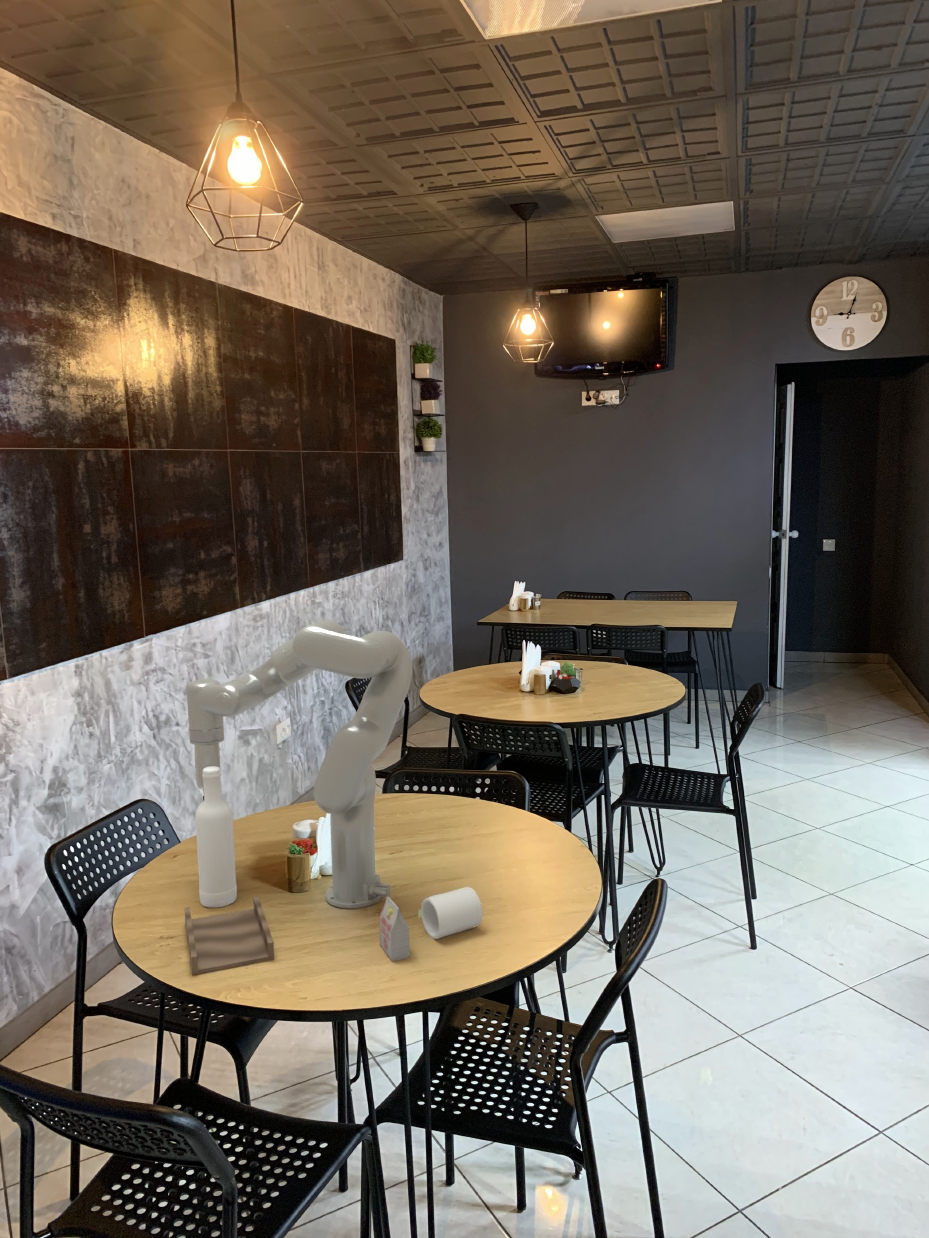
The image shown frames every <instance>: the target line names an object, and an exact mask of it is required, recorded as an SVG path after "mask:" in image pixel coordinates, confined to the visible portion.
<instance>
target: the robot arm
mask: <svg viewBox="0 0 929 1238" xmlns="http://www.w3.org/2000/svg"><path fill="white" fill-rule="evenodd" d="M412 662H413V661H412V659H411V654H410V652H409V650H408V648H407V646H406V645H405V643H404V641H402V639H400V637H399V636H397V635H396V634H395V633H393V632H390V631H387V630H375V631H372V632H369V633H366V634H365V635H362V636H356V635H355V636H354V635H350V634H347V632H346V630H345V629H344V627H343V626H342V625H341V624H340V623H338V622H336V621H334V620H331V619H327V620H320V621H316V622H313V623H311V624H307V625H306V626H304V627H302V628H301V629H299V630H298V631H297V632H296V634H295V636H294V637H293V638H291V639H289V640H287V641H286V642H284V643H283V644H281V645H280V646H278V647H277V648H275V649H273V650H272V652H271V654H270V658H268V659H267V660H266V661H265V662H263V663H262V664H260V665H259V666H258V667H255V668H254V669H253V670H251V671H250V672H248V673H246V674H244V675H243V676H240V677H236V678H235V679H232V680H229V681H227V682H223V683H221V682H220V681H219V680H217V679H211V678H205V679H204V678H203V679H195V680H193V681H190V682H189V683H188V684H187V685H186V699H187V700H186V702H187V716H188V717H187V718H188V735H189V737H188V738H189V743H190V744H191V745H194V767H195V781H196V786H197V788H198V789H202V788H203V792H204V783H203V777H202V774H203V769H204V768H206V767H210V766H217V767H219V768H220V769H221V754H220V752H221V751H220V743H222V742H224V741H225V729H224V727H225V725H224V717H225V718H226V717H227V718H231V717H236V716H238V715H240V714H243V713H245V712H246V711H249V710H251V709H253V708H255V707H257V706H259V705H261V704H262V703H264V702H265V701H267V700H268V699H270V698H272V697H274V696H275V695H277V694H278V693H280V692H281V691H283V690H284V689H286V688H287V687H289V686H293V685H294V684H296V683H297V682H299V681H300V680H302V679H304V678H305V677H307V676H308V675H311V673H313V672H314V671H317V670H321V671H325V672H328V673H329V672H330V673H333V674H337V675H342V676H344V677H350V678H355V679H361V680H362V679H363V680H364V679H365V680H366V679H370V678H371V679H370V681H369V683H368V685H367V687H366V689H365V692H364V693H363V696H362V698H361V699H362V700H361V702H360V704H359V706H358V709H357V711H356V713H355V714H354V717H353V718H351V720H349V721H348V722H346V723H345V724H344V725H342V726H341V727H340V728H338V730H337V731H336V733H335V734H334V735H333V737H332V739H331V741H330V743H329V746H327V747H328V748H327V750H326V752H325V755H324V758H323V760H322V762H321V765H320V768H319V769H318V773H317V775H316V778H315V781H314V784H313V790H312V791H313V798H314V801H315V804H316V805H317V806H318V808H319V809H320V810H321V811H322V812H325V813H326V814H329V815H330V820H329V821H330V824H329V825H330V848H331V849H330V853H331V877H332V881H331V882H332V885H331V886H330V887H329V888H328V889H327V890H326V892H325V899H326V902H327V903H328V904H330V905H331V906H333V907H337V908H341V909H360V908H365V907H369V906H372V905H373V904H377V903H378V902H379V901H380V900H382V898H386V896H387V897H388V896H389V897H390V895H391V884H389V883H382V881H381V875H379V874H376V851H375V850H376V846H375V799H376V788H377V787H376V786H377V781H376V780H377V778H376V777H377V776H376V771H375V769H374V767H373V765H372V763H373V762H374V760H376V759H377V758H378V757H379V756H380V755H381V754H382V753H383V752H384V751H385V750H386V748H387V746H388V743H389V741H390V738H391V735H392V733H393V730H394V728H395V725H396V722H397V720H398V718H399V714H400V713H401V710H402V707H403V705H404V701H405V700H406V697H407V694H408V692H409V689H410V685H411V682H412V676H413V664H412ZM203 801H204V795H203V796H202V802H203Z"/></svg>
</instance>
